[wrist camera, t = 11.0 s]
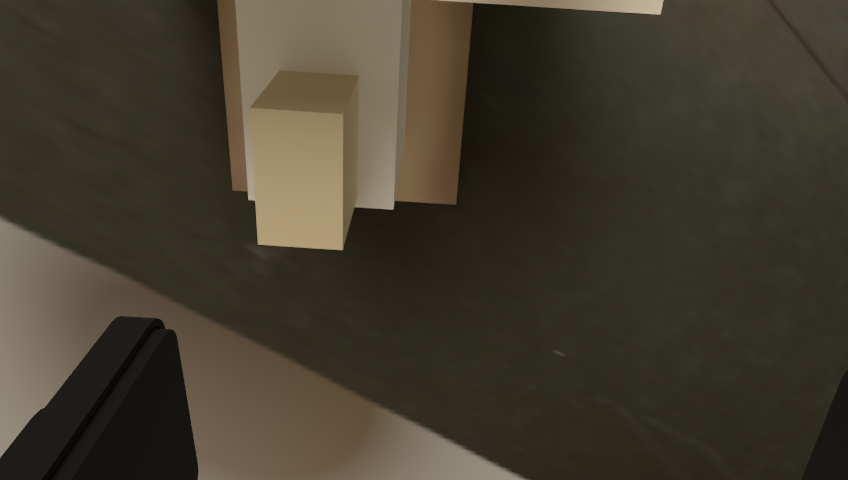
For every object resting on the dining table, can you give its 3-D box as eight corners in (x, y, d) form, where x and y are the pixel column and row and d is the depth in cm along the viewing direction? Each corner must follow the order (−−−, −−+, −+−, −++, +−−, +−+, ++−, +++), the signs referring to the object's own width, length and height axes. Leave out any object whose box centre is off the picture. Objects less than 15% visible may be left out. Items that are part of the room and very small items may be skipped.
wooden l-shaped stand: (544, -113, 33) (678, -71, 14) (507, 185, 40) (561, 486, 21) (161, -137, 33) (-244, -129, 14) (194, 165, 40) (-40, 447, 21)
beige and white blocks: (414, -72, 31) (395, -33, 20) (404, 141, 36) (384, 265, 25) (279, -80, 31) (188, -47, 20) (287, 133, 36) (216, 254, 25)
